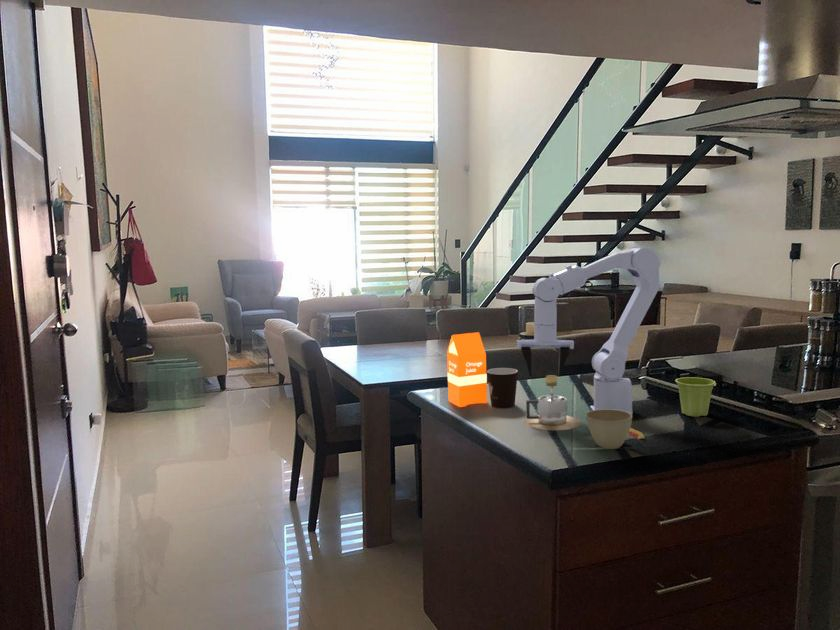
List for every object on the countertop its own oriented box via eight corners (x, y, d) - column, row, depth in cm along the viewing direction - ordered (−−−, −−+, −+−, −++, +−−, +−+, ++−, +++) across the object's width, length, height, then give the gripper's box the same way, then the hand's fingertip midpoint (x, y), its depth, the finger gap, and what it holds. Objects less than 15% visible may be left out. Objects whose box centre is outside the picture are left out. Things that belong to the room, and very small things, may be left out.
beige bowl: (623, 437, 152) (623, 407, 151) (639, 452, 142) (639, 419, 141) (580, 439, 152) (580, 409, 151) (593, 454, 142) (593, 421, 141)
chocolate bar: (616, 427, 161) (616, 418, 161) (646, 441, 150) (646, 431, 150) (607, 428, 161) (607, 419, 160) (636, 443, 149) (636, 433, 149)
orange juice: (487, 403, 187) (485, 333, 185) (459, 407, 184) (457, 336, 182) (475, 397, 195) (473, 330, 192) (448, 401, 191) (445, 333, 189)
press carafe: (564, 417, 168) (563, 394, 168) (568, 425, 161) (568, 401, 161) (525, 418, 169) (525, 395, 168) (528, 426, 162) (527, 402, 161)
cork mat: (575, 415, 172) (575, 413, 172) (585, 431, 158) (585, 429, 158) (521, 416, 173) (521, 414, 173) (527, 432, 159) (527, 430, 159)
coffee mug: (517, 410, 178) (516, 374, 177) (485, 410, 180) (485, 374, 179) (519, 399, 190) (519, 365, 188) (490, 399, 191) (489, 365, 190)
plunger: (560, 398, 167) (560, 373, 166) (564, 404, 162) (563, 378, 161) (540, 399, 167) (539, 374, 166) (542, 404, 162) (542, 378, 161)
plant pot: (678, 407, 175) (678, 375, 174) (717, 411, 170) (717, 378, 169) (671, 416, 167) (672, 383, 166) (712, 420, 162) (712, 386, 161)
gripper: (517, 326, 168) (517, 378, 170) (575, 326, 167) (574, 378, 168) (516, 322, 175) (516, 372, 177) (572, 322, 173) (571, 373, 175)
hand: (544, 375), depth 173 cm, fingers open, 7 cm apart
